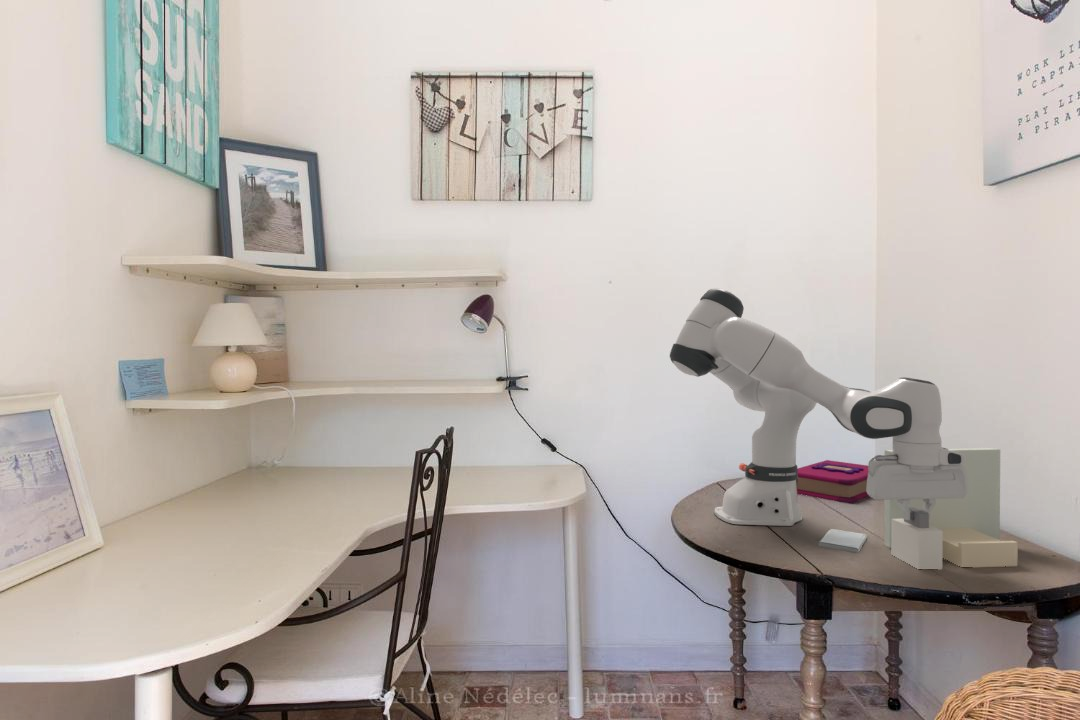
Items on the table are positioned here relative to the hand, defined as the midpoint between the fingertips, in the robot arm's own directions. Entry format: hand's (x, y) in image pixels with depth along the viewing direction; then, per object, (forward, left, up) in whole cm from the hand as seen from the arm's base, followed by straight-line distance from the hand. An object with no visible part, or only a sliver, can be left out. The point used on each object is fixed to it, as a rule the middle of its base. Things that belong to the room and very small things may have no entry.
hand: (916, 519), depth 130 cm
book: (+17, +64, -10) cm, 67 cm away
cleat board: (+13, +3, -9) cm, 16 cm away
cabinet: (0, 0, -9) cm, 9 cm away
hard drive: (-8, +14, -10) cm, 19 cm away
